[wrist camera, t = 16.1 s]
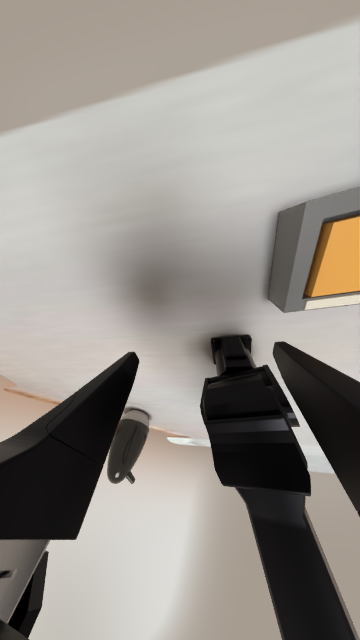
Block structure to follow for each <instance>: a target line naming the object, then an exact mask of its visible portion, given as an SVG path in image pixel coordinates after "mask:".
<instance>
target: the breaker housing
mask: <svg viewBox="0 0 360 640" xmlns="http://www.w3.org/2000/svg"><path fill="white" fill-rule="evenodd" d="M359 213H360V187H357V188H354V189H350V190H347V191H343V192H340V193H336V194H333V195H329V196H325V197H322V198H318V199H315V200H311V201H308V202H305V203H302V204H300V205H297V206H294V207H292V208H289V209H286V210H284V211H281V212H279V216H278V224H277V232H276V240H275V248H274V256H273V264H272V272H271V280H270V288H269V296H268V300H270V301H271V302H272V303H273V304H274V305H275V306H277V307H278V308H279V309H280V310H281V311H282V312H284V313H287V312H295V311H304V310H313V309H321V308H330V307H339V306H348V305H356V304H360V291H353V292H345V293H338V294H330V295H323V296H315V297H310V296H308V295H306V294H304V289H305V286H306V282H307V278H308V274H309V271H310V267H311V263H312V259H313V256H314V252H315V248H316V244H317V241H318V237H319V233H320V229H321V226H322V223H323V222H327V221H331V220H335V219H339V218H343V217H347V216H351V215H355V214H359Z"/></svg>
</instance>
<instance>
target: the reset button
mask: <svg viewBox="0 0 360 640" xmlns="http://www.w3.org/2000/svg"><path fill="white" fill-rule="evenodd" d="M353 291H360V213H359V214H355V215H351V216H347V217H343V218H339V219H335V220H331V221H327V222H323V223H322V226H321V229H320V233H319V237H318V241H317V244H316V248H315V252H314V256H313V259H312V263H311V267H310V271H309V274H308V278H307V282H306V286H305V289H304V294H306V295H308V296H310V297H315V296H323V295H330V294H338V293H345V292H353Z"/></svg>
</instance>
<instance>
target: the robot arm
mask: <svg viewBox="0 0 360 640" xmlns="http://www.w3.org/2000/svg"><path fill="white" fill-rule="evenodd" d="M247 338H248V339H247ZM251 341H252V338H251V336H249V335H245V336H233V337H221V338H212V339H211V345H212V353H213V360H214V364H215V365H216V367H217V375H218V376H217V377H212V378H205V382H204V387H203V392H202V398H201V403H200V408H201V414H202V418H203V421H204V424H205V426H206V429H207V432H208V435H209V439H210V443H211V448H212V454H213V460H214V467H215V471H216V473H217V475H218V477H219V479H220V481H221V483H222V484H223V486H229V487H235V488H236V490H237V491H238V493H239V494H240V496H241V497H242V499H243V500H244V502H245V503H246V506H247V509H248V513H249V517H250V520H251V524H252V528H253V532H254V535H255V539H256V543H257V547H258V550H259V554H260V558H261V562H262V565H263V569H264V573H265V577H266V580H267V584H268V588H269V592H270V595H271V599H272V603H273V606H274V610H275V614H276V618H277V621H278V625H279V629H280V633H281V637H282V640H360V639H359V637H358V635H357V632H356V630H355V627H354V625H353V622H352V620H351V618H350V615H349V613H348V610H347V608H346V605H345V603H344V601H343V598H342V596H341V593H340V591H339V588H338V586H337V583H336V581H335V579H334V576H333V574H332V571H331V569H330V566H329V564H328V562H327V559H326V557H325V554H324V552H323V549H322V547H321V545H320V542H319V540H318V537H317V535H316V532H315V530H314V528H313V525H312V523H311V520H310V518H309V516H308V513H307V510H306V508H305V496H311V482H310V475H309V472H308V470H307V467H308V466H307V461H306V458H305V456H304V454H303V452H302V450H301V447H300V445H299V443H298V441H297V439H296V437H295V435H294V432H293V430H292V428H291V427H300V425H299V422H298V420H297V418H296V416H295V414H294V412H293V409H292V407H291V405H290V403H289V402H288V400H287V398H286V396H285V394H284V392H283V390H282V389H281V387H280V385H279V383H278V382H277V380H276V378H275V377H274V375H273V373H272V372H271V370H270V368H269V367H268V365H263V366H262V367H258V368H256V366H255V363H254V361H253V359H252V356H251ZM273 357H274V359H275V361H276V364H277V366H278V368H279V371H280V373H281V376H282V378H283V380H284V382H285V384H286V386H287V388H288V390H289V392H290V393H291V395H292V397H293V399H294V400H295V402H296V404H297V406H298V408H299V409H300V411H301V413H302V415H303V416H304V418H305V420H306V422H307V424H308V425H309V427H310V429H311V431H312V432H313V434H314V436H315V438H316V440H317V441H318V443H319V445H320V447H321V448H322V450H323V452H324V454H325V456H326V457H327V459H328V461H329V463H330V464H331V466H332V468H333V470H334V472H335V473H336V475H337V477H338V479H339V480H340V482H341V484H342V486H343V488H344V489H345V491H346V493H347V495H348V496H349V498H350V500H351V502H352V504H353V505H354V507H355V509H356V510H357V511H358V514H359V516H360V382H358V381H357V380H355V379H353V378H351V377H349V376H347V375H345V374H344V373H342V372H340V371H338V370H336V369H334V368H332V367H331V366H329V365H327V364H325V363H323V362H321V361H319V360H318V359H316V358H314V357H312V356H310V355H308V354H306V353H304V352H303V351H301V350H299V349H297V348H295V347H293V346H291V345H290V344H288V343H286V342H275V344H274V348H273ZM138 365H139V359H138V357H137V355H136V353H135V352H128V353H127V354H126V355H124V356H123V357H122V358H120V359H119V360H118V361H116V362H115V363H114V364H112V365H111V366H110V367H108V368H107V369H106V370H104V371H103V372H102V373H100V374H99V375H98V376H96V377H95V378H94V379H92V380H91V381H90V382H89V383H87V384H86V385H85V386H83V387H82V388H81V389H79V390H78V391H77V392H75V393H74V394H73V395H71V396H70V397H69V398H67V399H66V400H65V401H63V402H62V403H60V404H59V405H58V406H56V407H55V408H53V409H52V410H51V411H49V412H48V413H46V414H45V415H43V416H42V417H41V418H39V419H38V420H36V421H35V422H33V423H32V424H30V425H29V426H28V427H26V428H25V429H23V430H22V431H20V432H19V433H17V434H16V435H14V436H12V437H10V438H8V439H6V440H5V441H2V442H0V640H29V639H28V637H29V635H30V633H31V630H32V628H33V626H34V623H35V621H36V619H37V617H38V614H39V612H40V610H41V607H42V600H43V591H44V584H45V576H46V568H47V560H48V553H49V552H48V551H45V550H46V548H47V545H48V544H49V542H50V540H75V539H76V538H77V536H78V534H79V531H80V528H81V525H82V523H83V520H84V517H85V515H86V512H87V509H88V507H89V504H90V501H91V498H92V496H93V493H94V490H95V487H96V484H97V482H98V479H99V476H100V474H101V471H102V468H103V464H104V463H105V460H106V457H107V454H108V452H109V449H110V446H111V444H112V441H113V438H114V435H115V433H116V430H117V427H118V424H119V422H120V419H121V416H122V413H123V411H124V408H125V405H126V403H127V400H128V397H129V394H130V392H131V389H132V386H133V383H134V380H135V376H136V372H137V369H138Z"/></svg>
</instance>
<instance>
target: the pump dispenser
mask: <svg viewBox="0 0 360 640" xmlns="http://www.w3.org/2000/svg"><path fill="white" fill-rule="evenodd" d="M148 433H149V419H148V417H147V415H146V414H145V413H144V412H142V411H139V410H132V411H129V412H127V413H126V414H125V415H124V416H123V418H122V419H121V420H120V422H119V424H118V427H117V430H116V433H115V435H114V438H113V441H112V444H111V448H110V453H109V459H108V468H107V475H108V479H109V481H110V482H111V483H114V484H117V483H120V482H121V481H123V480H124V478H125V477H126V478H127V479H128V480H129V481H130V483H131V484H133V483H134V481H135V478H134V476H133V475H132V473H131V469H132V467H133V466H134V464H135V462H136V461H137V459H138V457H139V455H140V453H141V451H142V449H143V446H144V444H145V441H146V439H147V436H148Z"/></svg>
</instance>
